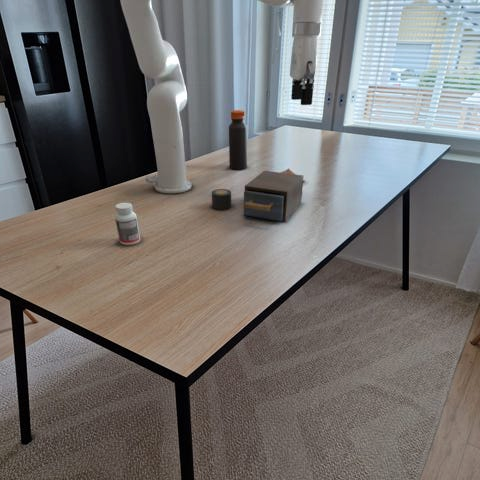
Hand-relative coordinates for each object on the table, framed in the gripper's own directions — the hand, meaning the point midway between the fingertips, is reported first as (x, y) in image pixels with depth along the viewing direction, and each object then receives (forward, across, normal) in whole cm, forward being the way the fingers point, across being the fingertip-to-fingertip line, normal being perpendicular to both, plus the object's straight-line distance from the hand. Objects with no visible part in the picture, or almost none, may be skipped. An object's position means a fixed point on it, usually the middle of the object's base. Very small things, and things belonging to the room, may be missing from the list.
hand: (301, 102), depth 120 cm
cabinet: (+27, +12, -10) cm, 32 cm away
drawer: (+26, +16, -13) cm, 34 cm away
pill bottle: (+28, +27, -53) cm, 65 cm away
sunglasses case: (+28, -8, -2) cm, 29 cm away
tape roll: (+27, +7, -26) cm, 38 cm away
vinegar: (+28, -33, -14) cm, 45 cm away
